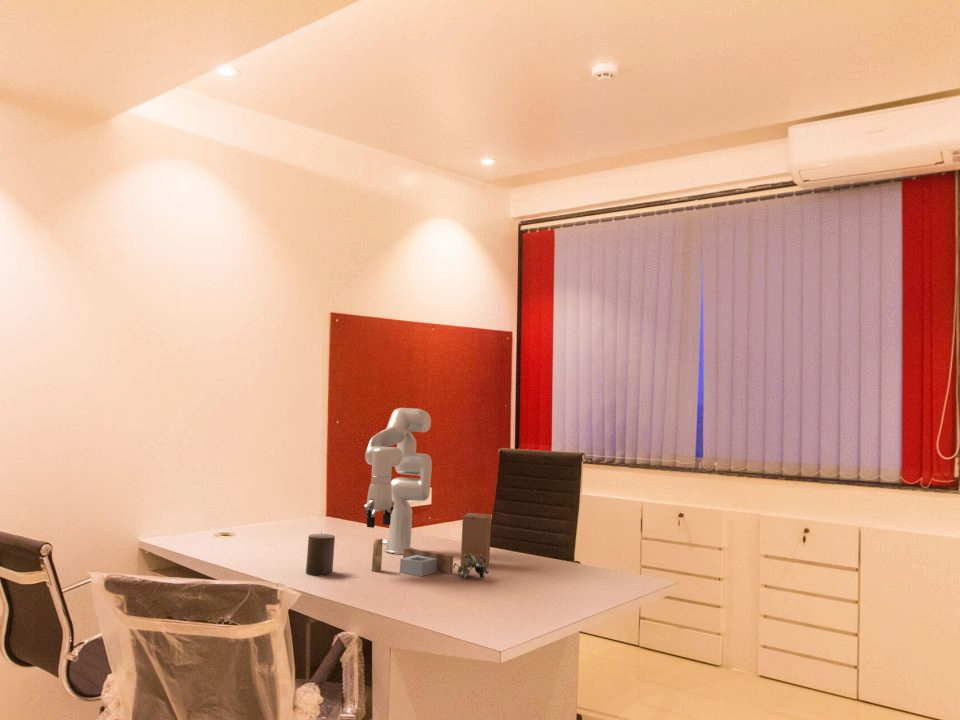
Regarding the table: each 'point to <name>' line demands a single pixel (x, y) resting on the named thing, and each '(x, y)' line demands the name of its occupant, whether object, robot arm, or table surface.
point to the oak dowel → (377, 555)
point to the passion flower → (475, 563)
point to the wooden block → (476, 537)
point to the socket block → (418, 565)
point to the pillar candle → (320, 554)
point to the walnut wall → (442, 559)
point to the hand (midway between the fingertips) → (378, 525)
